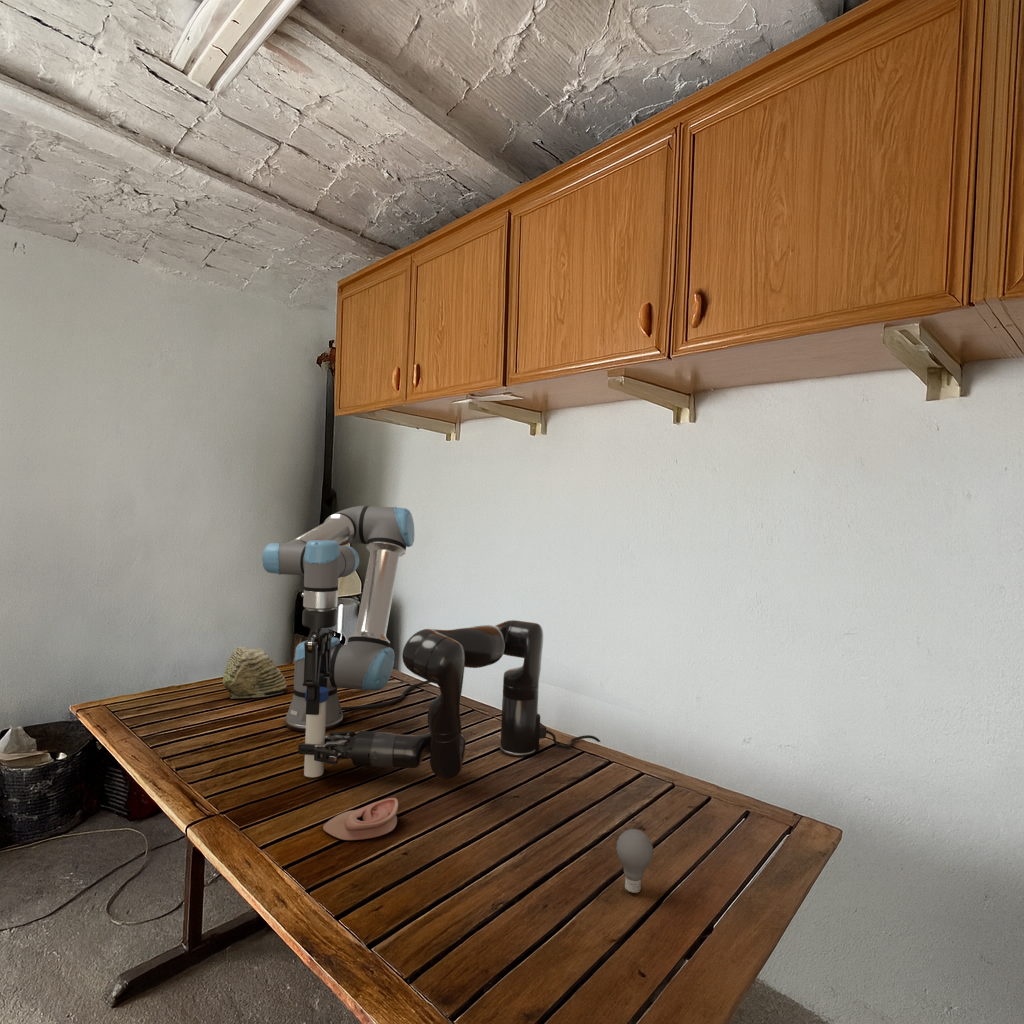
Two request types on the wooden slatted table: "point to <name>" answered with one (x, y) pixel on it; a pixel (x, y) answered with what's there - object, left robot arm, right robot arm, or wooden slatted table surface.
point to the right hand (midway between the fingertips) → (303, 744)
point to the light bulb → (634, 857)
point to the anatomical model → (364, 821)
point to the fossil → (252, 674)
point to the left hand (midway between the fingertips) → (316, 709)
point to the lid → (321, 694)
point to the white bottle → (315, 740)
